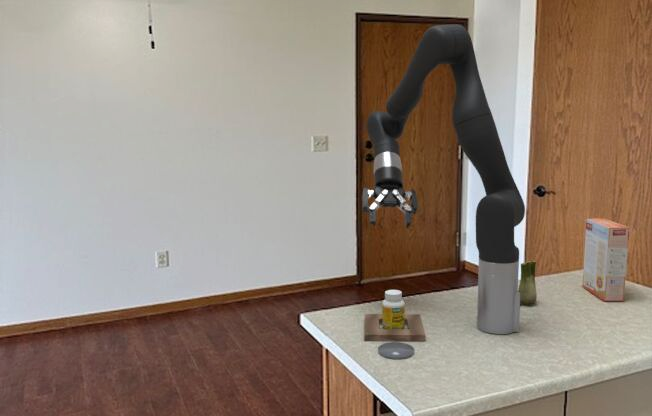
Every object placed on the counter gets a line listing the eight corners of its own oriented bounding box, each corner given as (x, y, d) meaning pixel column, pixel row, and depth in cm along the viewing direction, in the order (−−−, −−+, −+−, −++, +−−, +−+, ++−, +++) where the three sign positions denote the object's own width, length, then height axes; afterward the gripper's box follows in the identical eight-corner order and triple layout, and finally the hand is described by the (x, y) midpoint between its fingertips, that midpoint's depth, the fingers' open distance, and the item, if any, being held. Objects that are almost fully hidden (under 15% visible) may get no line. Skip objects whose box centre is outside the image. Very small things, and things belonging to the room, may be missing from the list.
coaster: (412, 344, 131) (413, 342, 131) (415, 359, 123) (415, 356, 123) (377, 344, 132) (377, 341, 132) (378, 359, 124) (378, 356, 124)
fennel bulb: (532, 300, 160) (534, 258, 158) (541, 306, 155) (543, 263, 153) (512, 301, 159) (514, 259, 157) (520, 307, 154) (522, 264, 152)
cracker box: (625, 302, 157) (630, 226, 154) (603, 302, 158) (608, 227, 154) (602, 286, 171) (606, 217, 168) (581, 287, 171) (585, 217, 168)
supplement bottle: (394, 324, 144) (394, 287, 142) (409, 330, 139) (409, 292, 138) (377, 329, 141) (377, 291, 139) (392, 335, 137) (392, 296, 135)
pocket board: (419, 319, 147) (419, 314, 146) (425, 341, 133) (425, 335, 133) (364, 319, 148) (364, 313, 147) (364, 340, 134) (364, 334, 134)
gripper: (362, 163, 151) (364, 217, 143) (416, 165, 152) (421, 218, 143) (360, 180, 157) (361, 231, 149) (411, 182, 158) (416, 233, 149)
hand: (390, 225), depth 146 cm, fingers open, 8 cm apart
